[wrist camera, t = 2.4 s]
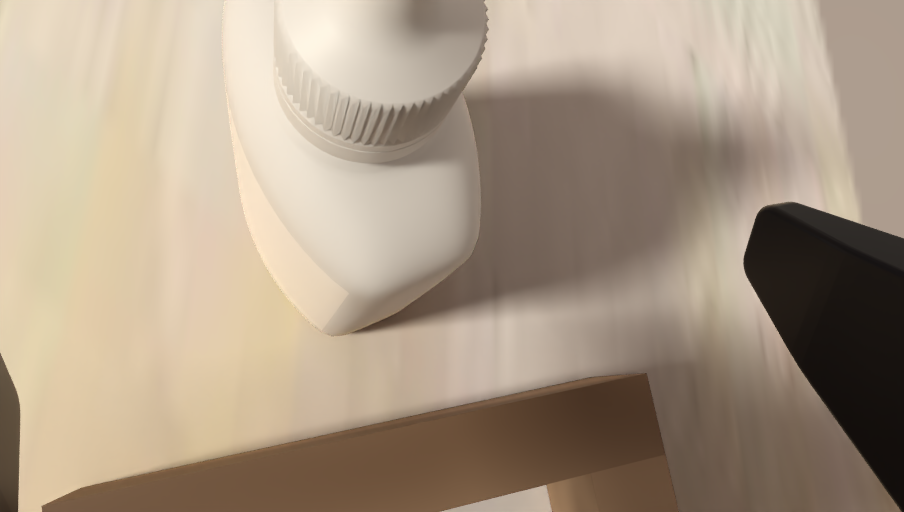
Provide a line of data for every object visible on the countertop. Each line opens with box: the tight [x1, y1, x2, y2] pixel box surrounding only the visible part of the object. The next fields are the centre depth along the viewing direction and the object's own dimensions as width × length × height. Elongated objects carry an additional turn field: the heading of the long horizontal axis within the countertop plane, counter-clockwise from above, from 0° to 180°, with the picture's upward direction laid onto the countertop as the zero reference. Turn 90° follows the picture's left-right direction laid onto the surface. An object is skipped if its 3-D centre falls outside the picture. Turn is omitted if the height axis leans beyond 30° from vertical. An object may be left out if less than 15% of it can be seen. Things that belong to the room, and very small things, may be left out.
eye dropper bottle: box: [222, 0, 489, 336], centre depth 13 cm, size 4×6×12 cm
